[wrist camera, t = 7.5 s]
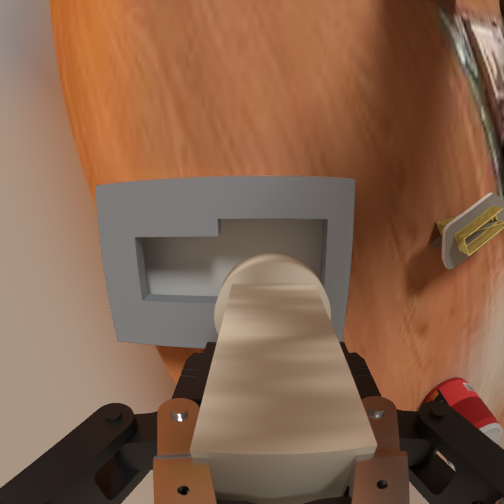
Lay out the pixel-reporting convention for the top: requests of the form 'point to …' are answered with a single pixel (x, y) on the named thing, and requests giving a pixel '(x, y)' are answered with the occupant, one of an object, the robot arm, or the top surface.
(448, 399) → the canned food
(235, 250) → the keyhole plate
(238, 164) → the top surface
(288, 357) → the maple peg
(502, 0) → the olive oil
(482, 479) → the robot arm
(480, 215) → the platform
